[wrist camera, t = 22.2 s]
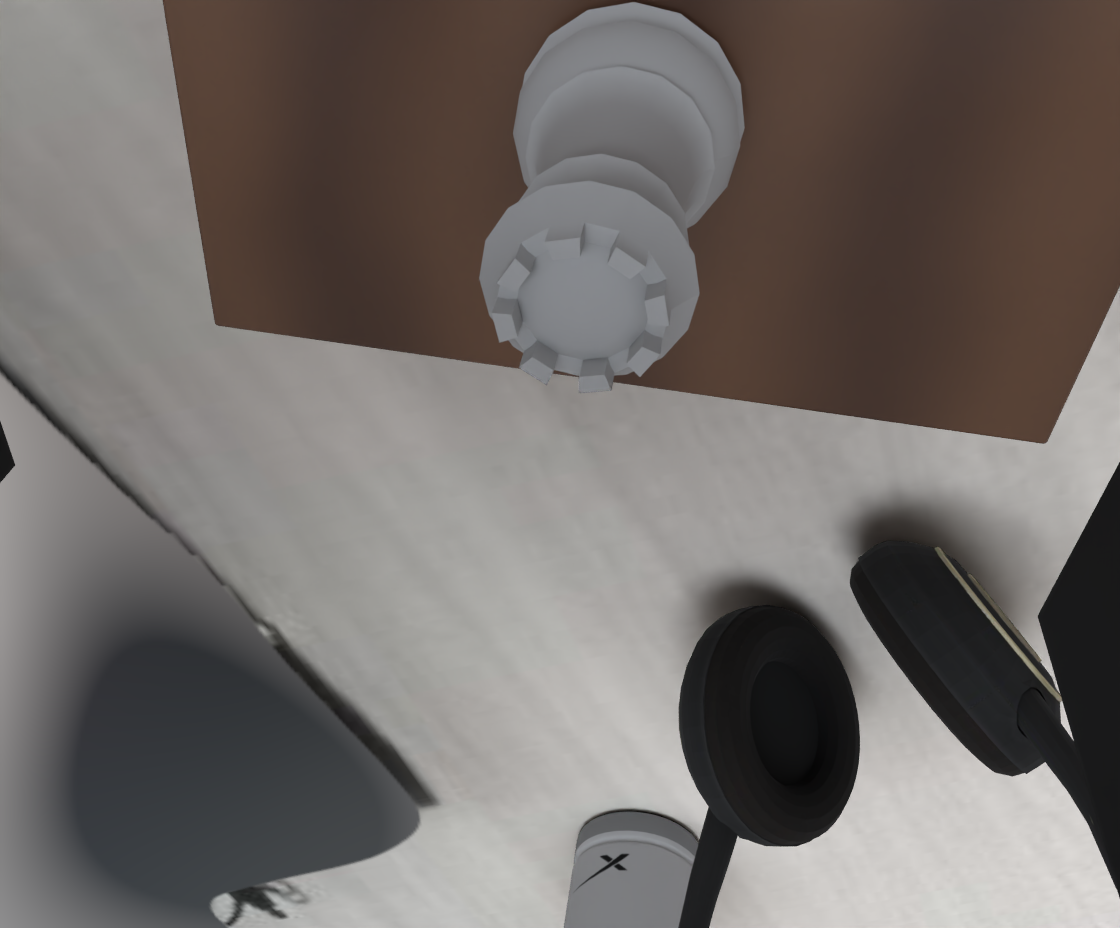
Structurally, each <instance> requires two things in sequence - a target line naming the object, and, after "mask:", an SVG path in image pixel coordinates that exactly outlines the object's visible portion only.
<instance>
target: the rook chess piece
mask: <svg viewBox="0 0 1120 928" xmlns="http://www.w3.org/2000/svg"><path fill="white" fill-rule="evenodd" d="M744 129H745V126H744V116H743V105H742V95H741V84H740V82H739V80H738V78H737V76H736V74H735V73H734V71H733V69H732V67H731V65H730V63H729V62H728V60H727V58H726V56H725V54H724V52H723V51H722V49H721V47H720V45H719V43H718V42H717V41H715V40H714V39H713V38H712V37H710V36H709V35H708V34H706V33H705V32H704V31H702V30H701V29H700V28H699V27H697V26H696V25H695V24H693V23H692V22H691V21H689V20H688V19H687V18H686V17H684V16H683V15H682V14H680V13H676V12H672V11H668V10H664V9H660V8H656V7H652V6H648V5H644V4H640V3H636V2H631V3H625V4H620V5H614V6H608V7H602V8H596V9H591V10H587V11H585V12H584V13H582V14H581V15H579V16H578V17H576V18H575V19H573V20H572V21H570V22H569V23H567V24H566V25H564V26H563V27H561V28H560V29H558V30H557V31H555V32H554V33H552V34H551V35H549V36H548V38H547V40H546V41H545V43H544V44H543V46H542V47H541V49H540V50H539V52H538V54H537V55H536V57H535V58H534V60H533V61H532V63H531V64H530V66H529V68H528V69H527V71H526V72H525V75H524V81H523V86H522V89H521V90H520V95H519V100H518V106H517V112H516V118H515V124H514V130H513V136H514V140H515V145H516V149H517V153H518V158H519V162H520V166H521V171H522V175H523V179H524V182H525V184H526V185H527V187H528V189H527V190H526V192H525V193H524V195H523V196H522V197H521V199H520V200H519V202H517V203H516V204H514V205H512V206H511V207H509V208H508V209H507V210H506V212H505V213H504V215H503V216H502V217H501V219H500V220H499V222H498V223H497V225H496V226H495V227H494V229H493V230H492V232H491V233H490V235H489V236H488V237H487V239H486V240H485V246H484V252H483V258H482V264H481V270H480V276H479V279H480V283H481V287H482V290H483V294H484V298H485V301H486V305H487V309H488V312H489V316H490V317H491V318H492V319H493V321H494V324H495V328H496V332H497V335H498V339H499V343H500V342H503V341H507V340H509V342H510V343H511V344H512V346H513V347H515V348H516V349H518V350H519V351H521V352H523V356H522V359H521V363H520V366H519V368H520V369H522V370H523V371H525V372H526V373H528V374H530V375H531V376H533V377H534V378H536V379H538V380H539V381H541V382H542V383H544V384H545V385H547V383H548V381H549V379H550V377H551V375H552V373H553V371H554V370H556V371H560V372H564V373H568V374H572V375H577V376H579V393H587V392H599V391H611V390H612V385H613V379H614V376H615V375H627V374H629V373H631V372H633V371H634V372H635V373H636V374H637V375H638V376H639V377H641V376H642V374H643V373H644V372H645V371H646V370H647V369H648V368H649V367H650V366H651V365H652V363H653V362H655V361H657V360H659V359H661V358H663V356H664V355H665V354H666V353H667V352H668V351H669V350H670V349H671V348H672V347H673V346H674V344H675V343H676V342H677V341H678V340H679V339H680V338H681V337H682V336H683V335H684V334H685V332H686V331H687V330H688V328H689V325H690V322H691V319H692V316H693V312H694V309H695V306H696V303H697V300H698V297H699V294H700V293H699V285H698V278H697V270H696V263H695V255H694V253H693V251H692V250H691V248H690V246H689V240H688V233H687V228H689V227H691V226H693V225H694V224H696V223H697V222H698V221H699V219H700V218H701V217H702V216H703V215H704V214H705V212H706V211H707V210H708V209H709V208H710V206H711V205H712V204H713V203H714V202H715V201H716V199H717V198H718V197H719V196H720V195H721V194H722V192H723V191H724V190H725V189H726V188H727V186H728V183H729V180H730V177H731V173H732V170H733V167H734V164H735V161H736V158H737V155H738V151H739V148H740V141H741V138H742V135H743V132H744Z"/></svg>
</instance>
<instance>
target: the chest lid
mask: <svg viewBox="0 0 1120 928" xmlns="http://www.w3.org/2000/svg"><path fill="white" fill-rule="evenodd" d="M631 2H636V3H640V4H644V5H648V6H652V7H656V8H660V9H664V10H668V11H672V12H676V13H680V14H682V15H683V16H684V17H686V18H687V19H688V20H689V21H691V22H692V23H693V24H695V25H696V26H697V27H699V28H700V29H701V30H702V31H704V32H705V33H706V34H708V35H709V36H710V37H712V38H713V39H714V40H715V41H717V42H718V43H719V45H720V47H721V49H722V51H723V52H724V54H725V56H726V58H727V60H728V62H729V63H730V65H731V67H732V69H733V71H734V73H735V74H736V76H737V78H738V80H739V82H740V84H741V95H742V105H743V116H744V126H745V129H744V132H743V135H742V138H741V141H740V148H739V151H738V155H737V158H736V161H735V164H734V167H733V170H732V173H731V177H730V180H729V183H728V186H727V188H726V189H725V190H724V191H723V192H722V194H721V195H720V196H719V197H718V198H717V199H716V201H715V202H714V203H713V204H712V205H711V206H710V208H709V209H708V210H707V211H706V212H705V214H704V215H703V216H702V217H701V218H700V219H699V221H698V222H697V223H696V224H694V225H693V226H691V227H689V228H687V233H688V240H689V246H690V248H691V250H692V251H693V253H694V255H695V263H696V270H697V278H698V285H699V293H700V294H699V297H698V300H697V303H696V306H695V309H694V312H693V316H692V319H691V322H690V325H689V328H688V330H687V331H686V332H685V334H684V335H683V336H682V337H681V338H680V339H679V340H678V341H677V342H676V343H675V344H674V346H673V347H672V348H671V349H670V350H669V351H668V352H667V353H666V354H665V355H664V356H663V358H661V359H659V360H657V361H655V362H653V363H652V365H651V366H650V367H649V368H648V369H647V370H646V371H645V372H644V373H643V374H642V376H641V377H639V376H638V375H637V374H636V373H635V372H634V371H633V372H631V373H629V374H627V375H615V376H614V379H613V382H616V383H623V384H630V385H637V386H644V387H651V388H658V389H665V390H672V391H679V392H686V393H693V394H700V395H707V396H714V397H721V398H728V399H735V400H742V401H749V402H756V403H763V404H770V405H777V406H784V407H791V408H798V409H805V410H812V411H819V412H826V413H833V414H840V415H847V416H854V417H861V418H868V419H875V420H882V421H889V422H896V423H903V424H910V425H917V426H924V427H931V428H938V429H945V430H952V431H959V432H966V433H973V434H980V435H987V436H994V437H1001V438H1008V439H1015V440H1022V441H1029V442H1036V443H1046V442H1047V441H1048V439H1049V437H1050V435H1051V432H1052V430H1053V428H1054V426H1055V424H1056V422H1057V420H1058V417H1059V415H1060V413H1061V411H1062V409H1063V407H1064V405H1065V402H1066V400H1067V398H1068V396H1069V394H1070V392H1071V390H1072V387H1073V385H1074V383H1075V381H1076V379H1077V377H1078V374H1079V372H1080V370H1081V368H1082V366H1083V364H1084V362H1085V359H1086V357H1087V355H1088V353H1089V351H1090V349H1091V347H1092V344H1093V342H1094V340H1095V338H1096V336H1097V334H1098V332H1099V329H1100V327H1101V325H1102V323H1103V321H1104V319H1105V317H1106V314H1107V312H1108V310H1109V308H1110V306H1111V304H1112V302H1113V299H1114V297H1115V295H1116V293H1117V291H1118V289H1119V287H1120V0H163V5H164V11H165V18H166V24H167V30H168V36H169V42H170V48H171V55H172V61H173V67H174V73H175V79H176V85H177V92H178V98H179V104H180V110H181V116H182V123H183V129H184V135H185V141H186V147H187V153H188V160H189V166H190V172H191V178H192V184H193V191H194V197H195V203H196V209H197V215H198V221H199V228H200V234H201V240H202V246H203V252H204V258H205V265H206V271H207V277H208V283H209V289H210V296H211V302H212V308H213V314H214V320H215V324H216V325H218V326H225V327H232V328H239V329H246V330H253V331H260V332H267V333H274V334H281V335H288V336H295V337H302V338H309V339H316V340H323V341H330V342H337V343H344V344H351V345H358V346H365V347H372V348H379V349H386V350H393V351H400V352H407V353H414V354H421V355H428V356H435V357H442V358H449V359H456V360H463V361H470V362H477V363H484V364H491V365H498V366H505V367H512V368H519V366H520V363H521V359H522V356H523V352H521V351H519V350H518V349H516V348H515V347H513V346H512V344H511V343H510V342H509V340H507V341H503V342H500V343H499V339H498V335H497V332H496V328H495V324H494V321H493V319H492V318H491V317H490V316H489V312H488V309H487V305H486V301H485V298H484V294H483V290H482V287H481V283H480V279H479V276H480V270H481V264H482V258H483V252H484V246H485V240H486V239H487V237H488V236H489V235H490V233H491V232H492V230H493V229H494V227H495V226H496V225H497V223H498V222H499V220H500V219H501V217H502V216H503V215H504V213H505V212H506V210H507V209H508V208H509V207H511V206H512V205H514V204H516V203H517V202H519V200H520V199H521V197H522V196H523V195H524V193H525V192H526V190H527V189H528V187H527V185H526V184H525V182H524V179H523V175H522V171H521V166H520V162H519V158H518V153H517V149H516V145H515V140H514V136H513V130H514V124H515V118H516V112H517V106H518V100H519V95H520V90H521V89H522V86H523V81H524V75H525V72H526V71H527V69H528V68H529V66H530V64H531V63H532V61H533V60H534V58H535V57H536V55H537V54H538V52H539V50H540V49H541V47H542V46H543V44H544V43H545V41H546V40H547V38H548V36H549V35H551V34H552V33H554V32H555V31H557V30H558V29H560V28H561V27H563V26H564V25H566V24H567V23H569V22H570V21H572V20H573V19H575V18H576V17H578V16H579V15H581V14H582V13H584V12H585V11H587V10H591V9H596V8H602V7H608V6H614V5H620V4H625V3H631ZM519 369H520V368H519ZM553 374H560V375H567V376H574V377H579V376H577V375H572V374H568V373H564V372H560V371H556V370H554V371H553Z"/></svg>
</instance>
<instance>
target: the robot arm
mask: <svg viewBox="0 0 1120 928" xmlns="http://www.w3.org/2000/svg"><path fill="white" fill-rule="evenodd" d="M14 466H15V463H14V460H13V457H12V455H11V452H10V449H9V446H8V443H7V440H6V437H5V434H4V431H3V428H2V425H1V422H0V482H1V481H2V480H3V479H4V478H5V476H6V475H7V474H8V473H9V472H10V470H11V469H12V468H13V467H14ZM1038 619H1039V622H1040V625H1041V629H1042V632H1043V636H1044V639H1045V643H1046V646H1047V650H1048V653H1049V656H1050V660H1051V663H1052V667H1053V670H1054V674H1055V677H1056V681H1057V684H1058V687H1059V691H1060V694H1061V698H1062V701H1063V705H1064V708H1065V712H1066V715H1067V718H1068V722H1069V725H1070V729H1071V732H1072V736H1073V739H1074V743H1075V746H1076V749H1077V753H1078V756H1079V760H1080V763H1081V767H1082V770H1083V774H1084V777H1085V780H1086V784H1087V787H1088V791H1089V794H1090V798H1091V801H1092V804H1093V808H1094V811H1095V815H1096V818H1097V822H1098V825H1099V829H1100V832H1101V835H1102V839H1103V842H1104V846H1105V849H1106V853H1107V856H1108V860H1109V863H1110V866H1111V870H1112V873H1113V877H1114V880H1115V884H1116V887H1117V891H1118V894H1119V897H1120V463H1119V465H1118V466H1117V468H1116V470H1115V472H1114V474H1113V476H1112V478H1111V480H1110V481H1109V483H1108V485H1107V487H1106V489H1105V491H1104V493H1103V495H1102V496H1101V498H1100V500H1099V502H1098V504H1097V506H1096V508H1095V510H1094V511H1093V513H1092V515H1091V517H1090V519H1089V521H1088V523H1087V525H1086V526H1085V528H1084V530H1083V532H1082V534H1081V536H1080V538H1079V540H1078V541H1077V543H1076V545H1075V547H1074V549H1073V551H1072V553H1071V555H1070V556H1069V558H1068V560H1067V562H1066V564H1065V566H1064V568H1063V570H1062V571H1061V573H1060V575H1059V577H1058V579H1057V581H1056V583H1055V585H1054V586H1053V588H1052V590H1051V592H1050V594H1049V596H1048V598H1047V600H1046V601H1045V603H1044V605H1043V607H1042V609H1041V611H1040V613H1039V615H1038Z"/></svg>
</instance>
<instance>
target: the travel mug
mask: <svg viewBox="0 0 1120 928" xmlns="http://www.w3.org/2000/svg"><path fill="white" fill-rule="evenodd" d="M697 848H698V842H697V841H696V839H695V838H694V836H693V835H692V834H691V833H689V832H688V831H687V830H686V829H684V828H683V827H681V826H680V825H678V824H677V823H675V822H672V821H670V820H668V819H666V818H663V817H660V816H657V815H653V814H648V813H642V812H617V813H610V814H607V815H603V816H600V817H598V818H596V819H594V820H592V821H590V822H589V823H588V824H586V825H585V826H584V827H583V828H582V830H581V831H580V833H579V835H578V839H577V845H576V851H575V858H574V867H573V871H572V877H571V884H570V890H569V897H568V903H567V910H566V916H565V923H564V928H678V927H679V922H680V918H681V913H682V909H683V904H684V900H685V896H686V891H687V887H688V882H689V878H690V873H691V870H692V866H693V862H694V859H695V855H696V851H697Z"/></svg>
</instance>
